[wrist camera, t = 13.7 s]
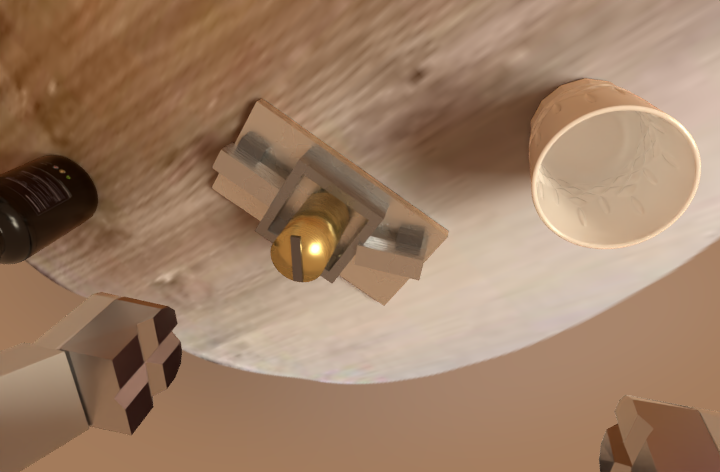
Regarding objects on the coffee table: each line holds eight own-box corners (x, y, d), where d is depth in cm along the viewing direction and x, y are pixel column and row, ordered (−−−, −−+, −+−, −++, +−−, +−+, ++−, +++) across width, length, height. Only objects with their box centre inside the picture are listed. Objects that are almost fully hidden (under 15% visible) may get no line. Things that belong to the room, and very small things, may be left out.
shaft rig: (217, 183, 42) (194, 201, 39) (261, 98, 38) (240, 110, 35) (386, 299, 44) (378, 325, 41) (448, 230, 40) (445, 254, 36)
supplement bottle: (87, 232, 49) (-20, 304, 38) (27, 188, 48) (-99, 249, 37) (112, 186, 45) (1, 250, 35) (48, 137, 44) (-85, 189, 34)
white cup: (565, 202, 36) (590, 274, 28) (497, 124, 35) (500, 175, 26) (669, 132, 33) (735, 190, 24) (598, 41, 31) (639, 70, 23)
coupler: (301, 190, 40) (267, 231, 34) (349, 195, 39) (323, 238, 33) (303, 233, 42) (271, 280, 35) (349, 239, 41) (324, 287, 35)
